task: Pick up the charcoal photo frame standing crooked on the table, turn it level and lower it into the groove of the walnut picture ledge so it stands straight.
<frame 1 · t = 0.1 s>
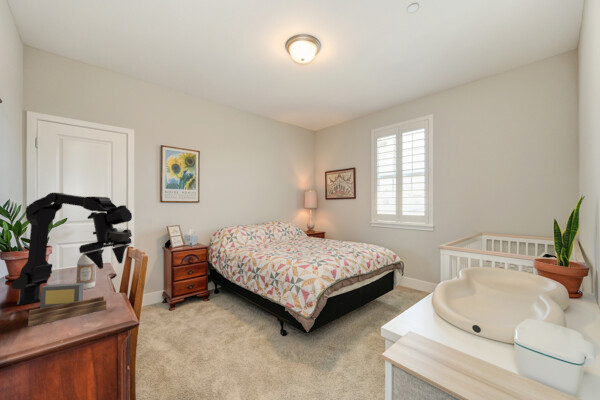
hand: (111, 265, 98), 15 cm above the table, tool pointing down, fingers open, 9 cm apart
picture ledge: (69, 313, 89), on the table
bath foam: (85, 287, 118), on the table
photo frame: (62, 305, 97), on the table
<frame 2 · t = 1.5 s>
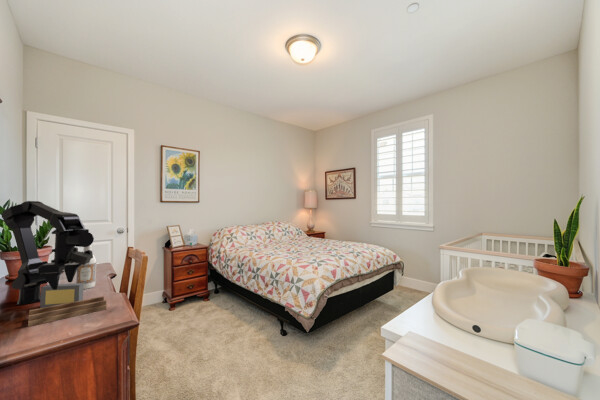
hand: (62, 285, 97), 8 cm above the table, tool pointing down, fingers open, 9 cm apart
nothing on the table moved.
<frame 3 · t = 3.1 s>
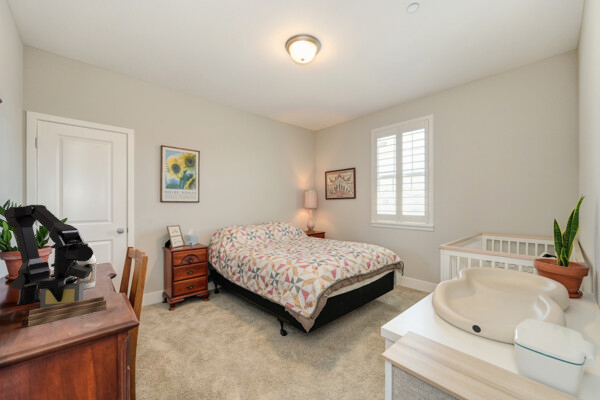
hand: (62, 300, 97), 2 cm above the table, tool pointing down, fingers closed on photo frame, 3 cm apart
photo frame: (62, 305, 97), on the table, touching gripper
everything else where it was.
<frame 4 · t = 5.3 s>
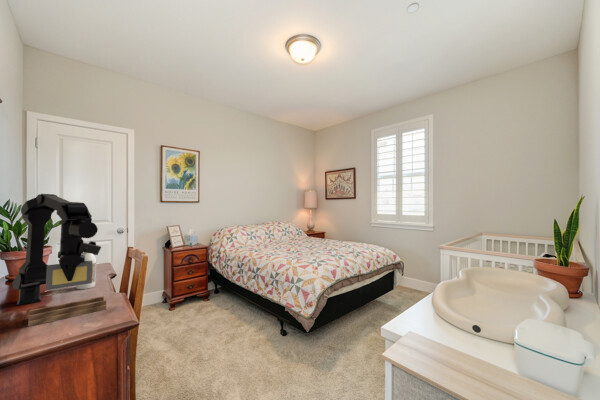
hand: (69, 280, 90), 12 cm above the table, tool pointing down, fingers closed on photo frame, 3 cm apart
photo frame: (69, 285, 90), point 10 cm above the table, touching gripper
everything else where it was.
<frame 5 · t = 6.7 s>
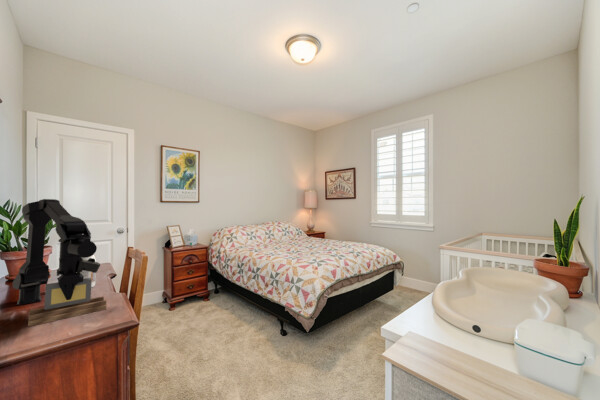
hand: (68, 298, 89), 6 cm above the table, tool pointing down, fingers closed on photo frame, 3 cm apart
photo frame: (68, 304, 89), point 4 cm above the table, touching gripper
everything else where it was.
when the fingers open (4 cm above the table, at t = 7.7 s): photo frame stays where it is, resting on picture ledge.
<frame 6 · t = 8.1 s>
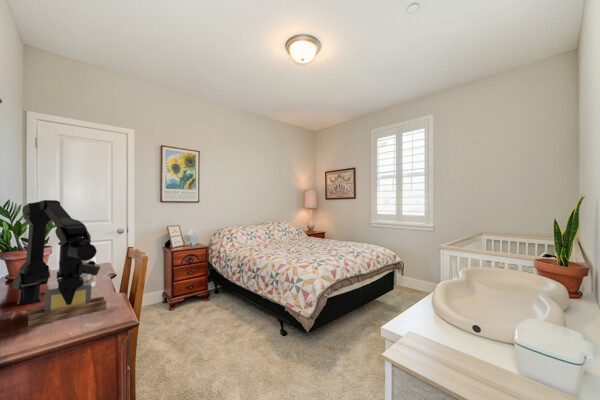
hand: (68, 301, 89), 4 cm above the table, tool pointing down, fingers open, 8 cm apart
photo frame: (68, 309, 89), point 1 cm above the table, touching picture ledge
everything else where it was.
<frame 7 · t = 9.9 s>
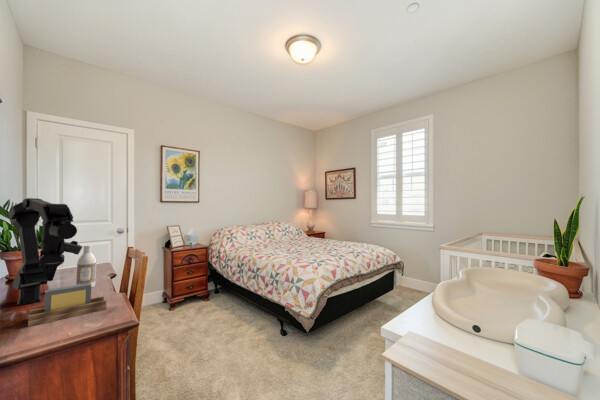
hand: (50, 277, 94), 12 cm above the table, tool pointing down, fingers open, 9 cm apart
nothing on the table moved.
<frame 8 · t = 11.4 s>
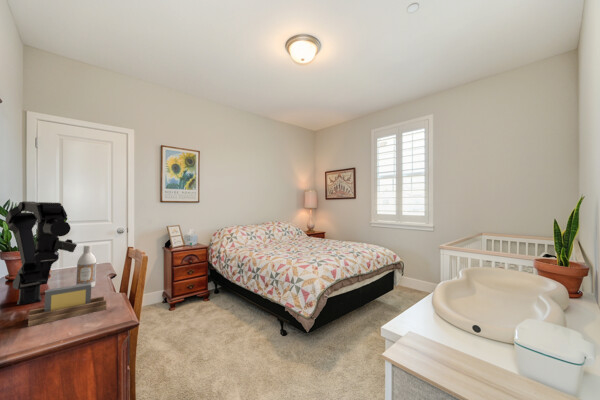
hand: (45, 275, 95), 12 cm above the table, tool pointing down, fingers open, 9 cm apart
nothing on the table moved.
at the end: photo frame inside the target area (0.0 cm from its centre), point 1.5 cm above the table; photo frame tilted 0°; the gripper is holding nothing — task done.
